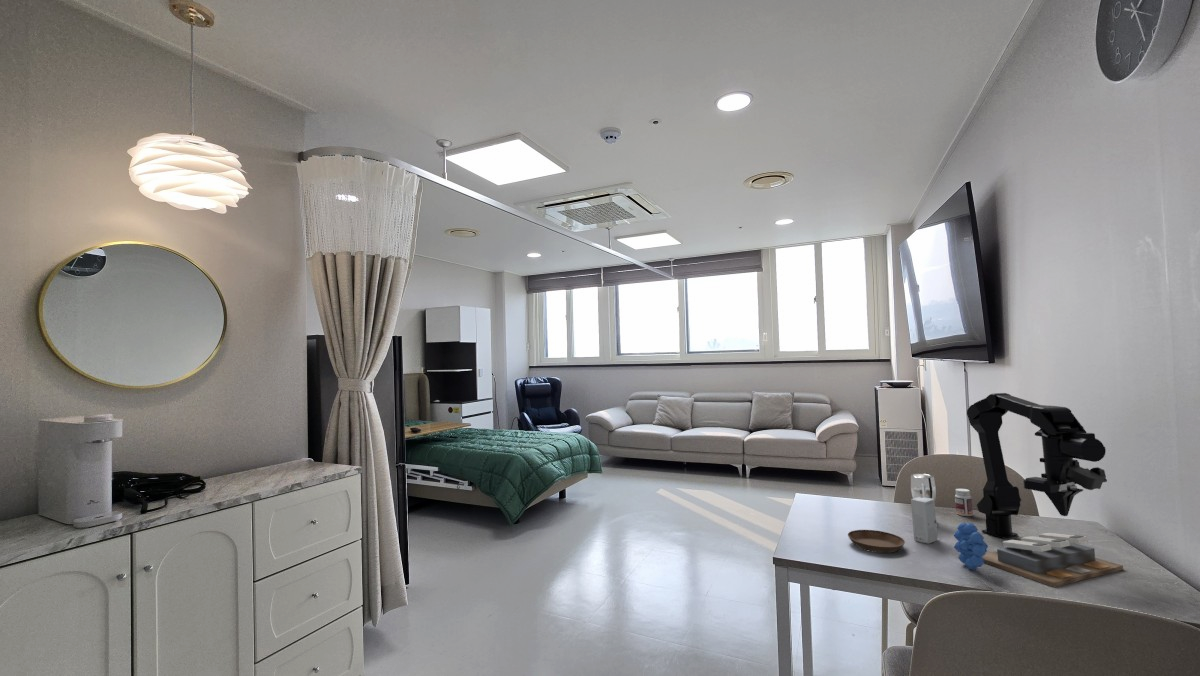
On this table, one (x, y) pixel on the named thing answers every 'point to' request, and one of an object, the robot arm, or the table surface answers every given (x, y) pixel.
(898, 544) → the saucer
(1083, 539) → the rocker
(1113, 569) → the switch panel
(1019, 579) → the table surface
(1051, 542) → the rocker middle
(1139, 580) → the table surface
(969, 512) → the pill bottle
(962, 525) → the grapes
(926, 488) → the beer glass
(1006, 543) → the rocker
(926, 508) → the skincare box
